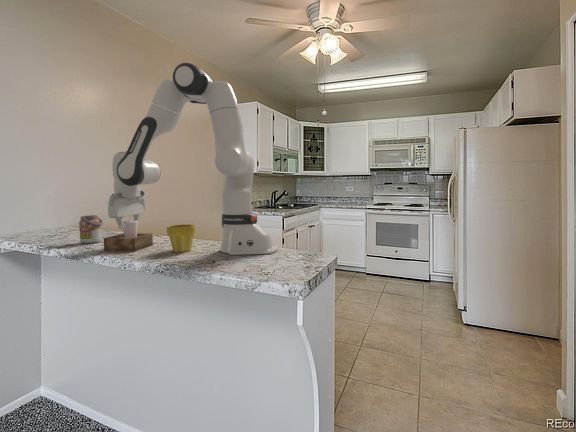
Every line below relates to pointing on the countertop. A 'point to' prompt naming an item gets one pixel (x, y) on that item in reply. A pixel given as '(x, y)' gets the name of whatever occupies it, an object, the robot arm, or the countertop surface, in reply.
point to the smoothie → (130, 228)
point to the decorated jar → (90, 229)
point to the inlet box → (128, 242)
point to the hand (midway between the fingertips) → (128, 226)
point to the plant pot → (181, 236)
